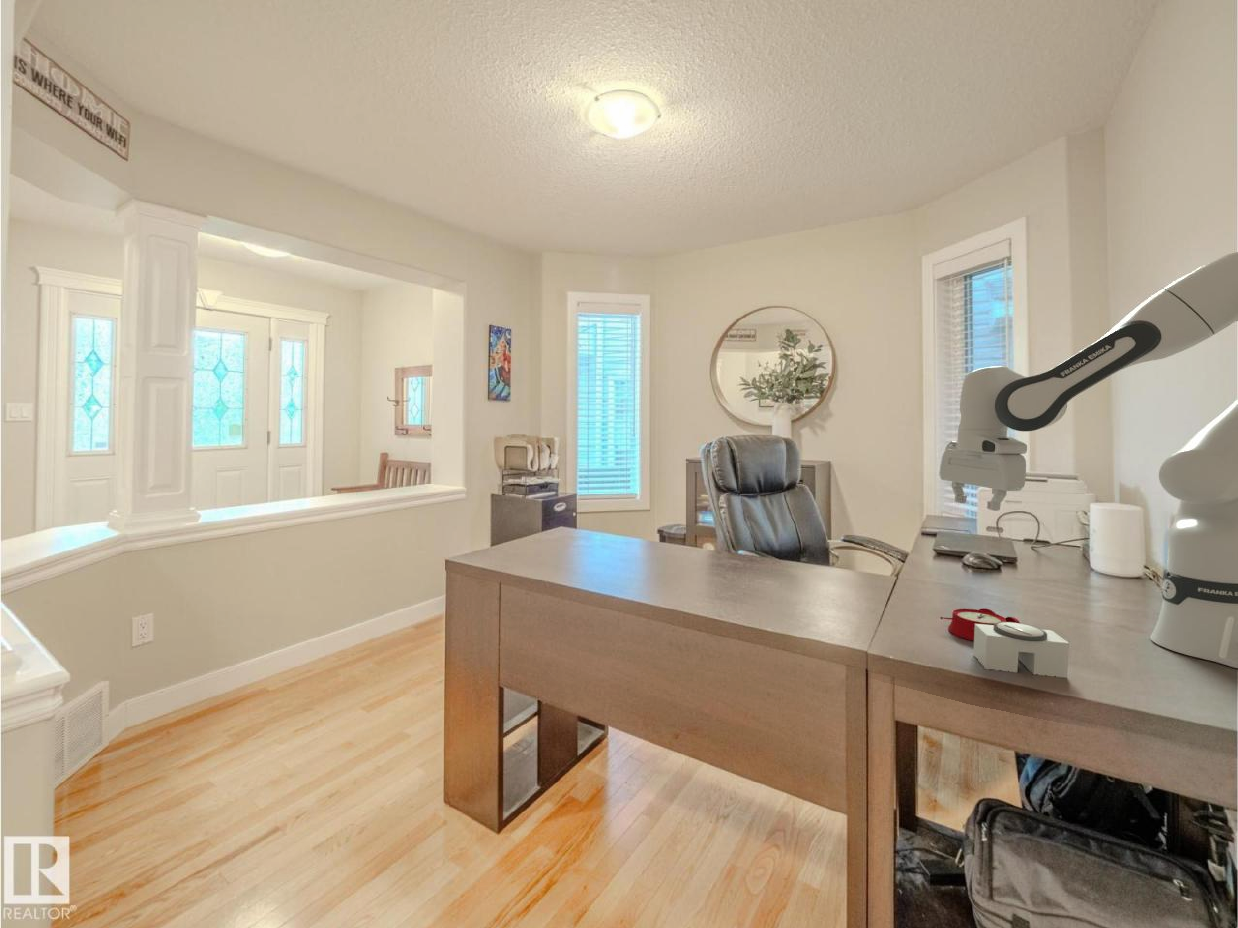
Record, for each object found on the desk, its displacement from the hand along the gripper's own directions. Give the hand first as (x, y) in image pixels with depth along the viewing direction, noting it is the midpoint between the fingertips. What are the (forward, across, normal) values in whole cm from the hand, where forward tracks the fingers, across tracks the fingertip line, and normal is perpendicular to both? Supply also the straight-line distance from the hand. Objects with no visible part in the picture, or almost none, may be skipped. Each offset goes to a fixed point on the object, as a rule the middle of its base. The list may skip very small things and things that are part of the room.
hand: (976, 506), depth 119 cm
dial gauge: (+24, +24, -10) cm, 36 cm away
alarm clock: (+25, +9, -4) cm, 27 cm away
